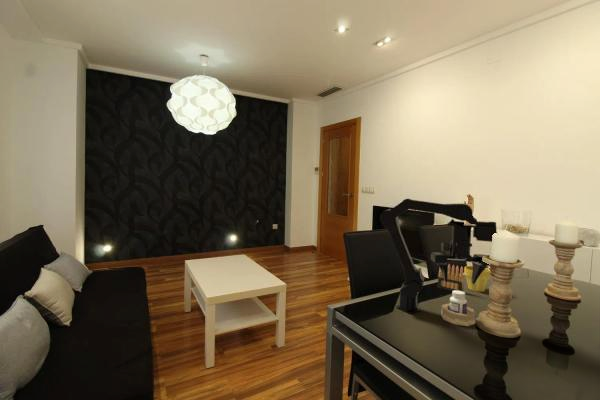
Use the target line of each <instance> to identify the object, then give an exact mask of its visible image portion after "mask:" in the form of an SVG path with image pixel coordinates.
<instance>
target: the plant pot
mask: <svg viewBox="0 0 600 400" xmlns="http://www.w3.org/2000/svg"><path fill="white" fill-rule="evenodd" d="M472 272H473V265H466V266H464V268H463V275H465V278H466V284H467V288H468V289H469V290H471V291H474V292H477V293H478V292H479V293H481V292H485V291H486V289H487V285H488V281H489V279H490V278H491V270H490V269H489V268H485V269H484V270H483V272H482V273H481V274H480V276H479V277H478V279H477V280H476V282H475V284H473V283H472Z"/></svg>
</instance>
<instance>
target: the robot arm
mask: <svg viewBox="0 0 600 400" xmlns="http://www.w3.org/2000/svg"><path fill="white" fill-rule="evenodd" d="M408 210H411V211H420V212H425V213H431V214H439V215H443V216H446V217H449V218H451V220H450V221H448V222H447V224H446V225H447V226H449V227H452V235H451V236H452V237H451V240H450V244H449V242H441V245H440V250H441V252H438V251H437V252H436V251H434V252H431V254H430V260H431V261H432V262H434V263H435V264H436V265H438V267H439V269H441V271H442V275H443V278H444V281H445V282H446V283H447V278H448V265H449V264H447V262H464V263H465V262H466V263H467V262H468V263H471V266H473V272H472V283H473V284H475V282H476V280H477V279H478V277H479V276H480V274H481V273H482V272H483V270H484V269H485V268H487V269H489V267H491V266H490V265H489V264H487V263H485V262H483V261H482V257H483V256H487V255H486V254H480V253H479V254H478V253H474V254H473V255H471V247H473V243H471V239H472V237H473V238H475V239H476V240H475V241H478V242H490V243H493V242H492V235H493V234H494V233H497V234H498V232H497V222H496V221H480V220H479V221H478V219H477V217H476V218H475V216H474V215H473V209H472V208H471V206H470V205H468V204H467V203H463V202H462V203H460V202H459V203H439V202H431V201H424V200H423V201H422V200H417V199H411V198H405V199H403V200H402V201H401V202H399V203H398V204H397V205H395V206H394V207H392V208H389V209H386V210H384V211H381V213H380V216H379V219H380V222H381V224H382V225H383V226H384V228H385V230H386V231H387V232H388V234H389V235H390V237H391V240H392V242H393V245H394V248H395V250H396V253H397V256H398V258H399V260H400V263H401V265H402V268H403V272H404V273H403V274H404V280H405V281H403V283H402V285H401V287H400V290H399V292H400V293H399V304H398V305H396V308H397V309H399V310H401V311H403V312H406V313H407V314H413V313H416V312H417V313H418V312H420V311H421V310H422V309H421V307H419V293H420V292H421V291H422V290H423V287H424V283H425V275H424V274H423V271H422V268H421V267H419V268H417V267H416V265H415V264H414V261H413V259H412V255H411V254H410V251H409V249H408V246H407V244H406V242H405V238H404V236H403V234H402V230H401V226H400V219H399V218H400V216H401V215H403V214H404V213H405V212H407V211H408ZM455 220H457V221H455ZM465 221H466V222H467V223H468V224H465ZM444 252H446V254H445V253H444Z"/></svg>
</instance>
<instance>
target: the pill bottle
mask: <svg viewBox="0 0 600 400" xmlns="http://www.w3.org/2000/svg"><path fill="white" fill-rule="evenodd" d="M451 292H452V296H450V297H449V303H450V309H449V310H450V311H453V312H455V313H462V314H467V307H468V300H467V299H466V292H465V291H463V292H462V291H458V290H454V291H451Z"/></svg>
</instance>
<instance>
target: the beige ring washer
mask: <svg viewBox="0 0 600 400" xmlns="http://www.w3.org/2000/svg"><path fill="white" fill-rule="evenodd" d="M449 309H450V302H449V303H445V304H442V305H441V315H440V316H441V317H442V319H443V320H444V321H446V322H448V323H451V324H453V325H458V326H465V327H470V326H473V325H475V324H476V315H477V314H476V312H475V311H474V309H473V308H471V307H468V306H467V314H462V313H455V312H453V311H450V310H449Z"/></svg>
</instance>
